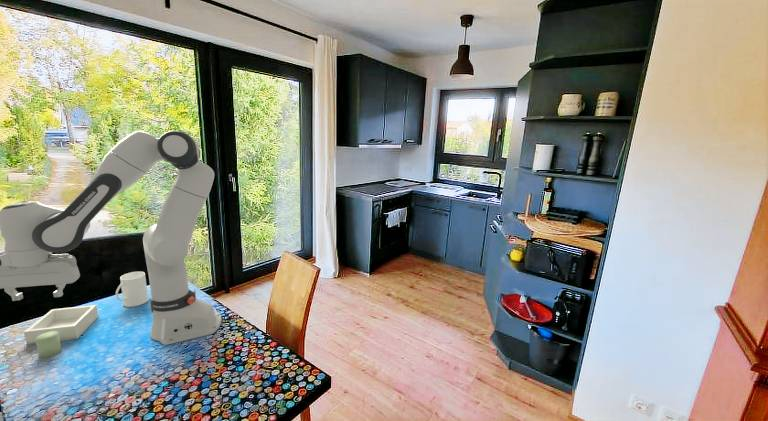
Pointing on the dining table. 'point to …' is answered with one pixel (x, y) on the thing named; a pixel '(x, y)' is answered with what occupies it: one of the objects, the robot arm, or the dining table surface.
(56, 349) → the pale green rounded piece
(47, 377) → the dining table surface
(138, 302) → the mug
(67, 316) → the bin
